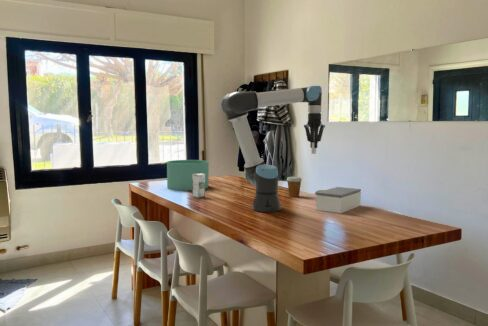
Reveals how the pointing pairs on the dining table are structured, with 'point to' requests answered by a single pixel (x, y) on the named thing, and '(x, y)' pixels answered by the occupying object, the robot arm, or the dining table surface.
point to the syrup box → (198, 185)
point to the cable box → (338, 202)
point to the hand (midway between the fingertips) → (313, 153)
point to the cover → (338, 192)
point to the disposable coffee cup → (294, 186)
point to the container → (185, 173)
